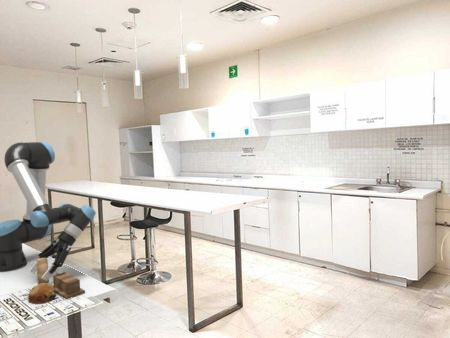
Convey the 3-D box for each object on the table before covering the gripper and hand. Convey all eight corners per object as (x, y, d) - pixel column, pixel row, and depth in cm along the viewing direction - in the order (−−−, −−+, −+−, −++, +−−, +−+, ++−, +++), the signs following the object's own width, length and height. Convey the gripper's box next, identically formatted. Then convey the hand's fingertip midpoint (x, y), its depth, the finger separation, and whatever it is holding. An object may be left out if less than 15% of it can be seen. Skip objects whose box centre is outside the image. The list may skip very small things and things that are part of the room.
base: (49, 289, 150) (48, 275, 150) (67, 283, 156) (67, 270, 156) (65, 299, 140) (65, 285, 139) (85, 293, 146) (84, 279, 145)
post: (36, 286, 154) (34, 259, 153) (46, 282, 157) (45, 257, 156) (40, 288, 151) (38, 261, 150) (51, 285, 154) (49, 259, 154)
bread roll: (52, 300, 148) (47, 282, 149) (62, 296, 141) (57, 277, 143) (27, 309, 140) (22, 290, 142) (36, 305, 134) (31, 285, 135)
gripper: (88, 243, 156) (56, 287, 146) (64, 235, 173) (33, 273, 163) (76, 234, 152) (42, 278, 142) (52, 226, 168) (20, 265, 158)
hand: (37, 275), depth 152 cm, fingers open, 13 cm apart
